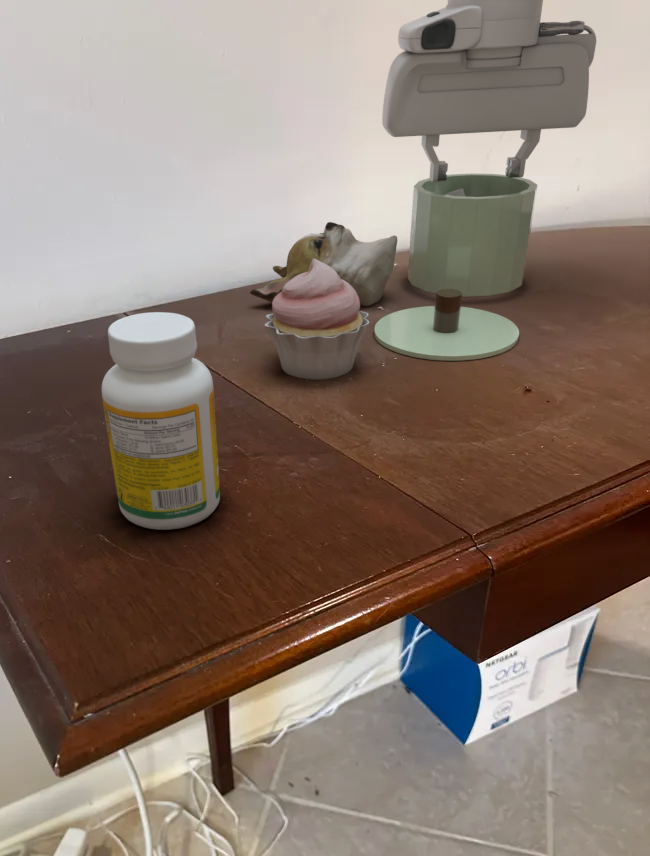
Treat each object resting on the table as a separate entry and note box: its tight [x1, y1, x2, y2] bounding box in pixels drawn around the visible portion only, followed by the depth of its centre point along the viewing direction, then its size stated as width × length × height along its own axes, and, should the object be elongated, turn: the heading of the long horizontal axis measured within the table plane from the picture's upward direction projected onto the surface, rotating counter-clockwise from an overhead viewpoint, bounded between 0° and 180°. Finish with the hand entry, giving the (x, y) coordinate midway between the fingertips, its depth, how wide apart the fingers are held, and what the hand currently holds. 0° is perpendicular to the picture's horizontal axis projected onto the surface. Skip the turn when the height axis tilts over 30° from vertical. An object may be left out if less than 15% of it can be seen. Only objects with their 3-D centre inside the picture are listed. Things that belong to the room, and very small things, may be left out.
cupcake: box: [264, 259, 370, 381], centre depth 71 cm, size 9×9×10 cm
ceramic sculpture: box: [248, 221, 398, 307], centre depth 87 cm, size 11×9×15 cm
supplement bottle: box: [101, 311, 221, 531], centre depth 52 cm, size 7×7×13 cm
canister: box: [407, 172, 538, 298], centre depth 90 cm, size 13×13×10 cm
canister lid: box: [373, 289, 520, 362], centre depth 77 cm, size 14×14×5 cm
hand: (475, 178), depth 86 cm, fingers open, 7 cm apart
